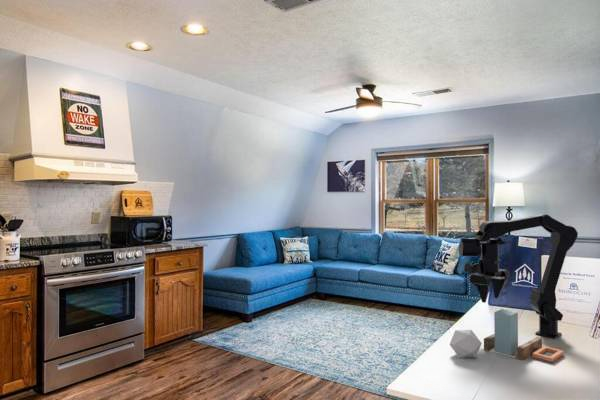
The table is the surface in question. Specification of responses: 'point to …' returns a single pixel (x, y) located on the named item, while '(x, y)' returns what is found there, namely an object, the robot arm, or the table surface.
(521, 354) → the channel
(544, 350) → the frame
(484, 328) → the table surface
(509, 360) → the table surface
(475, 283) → the robot arm
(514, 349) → the block
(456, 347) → the die
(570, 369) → the table surface
